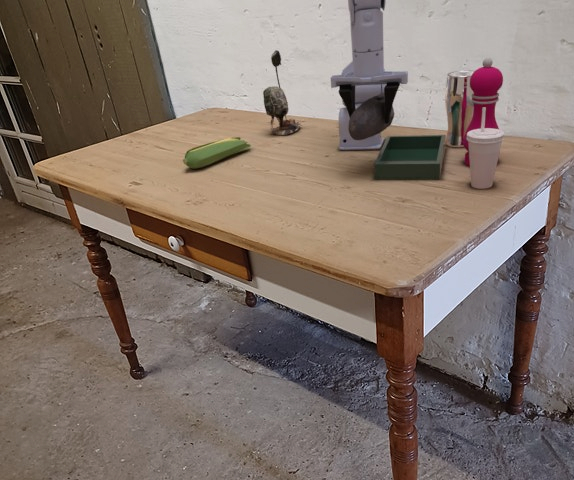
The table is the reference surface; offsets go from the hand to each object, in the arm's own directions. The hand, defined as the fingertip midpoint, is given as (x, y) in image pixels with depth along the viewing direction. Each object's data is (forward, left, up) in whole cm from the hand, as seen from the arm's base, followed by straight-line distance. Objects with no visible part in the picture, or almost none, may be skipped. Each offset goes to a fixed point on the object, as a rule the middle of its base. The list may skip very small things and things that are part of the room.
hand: (370, 122), depth 113 cm
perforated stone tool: (0, +1, -3) cm, 3 cm away
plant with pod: (-28, +31, -10) cm, 43 cm away
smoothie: (+22, -8, -10) cm, 25 cm away
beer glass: (+17, +18, -10) cm, 27 cm away
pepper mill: (+21, +5, -10) cm, 24 cm away
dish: (+8, +5, -10) cm, 13 cm away
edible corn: (-37, +8, -10) cm, 39 cm away
